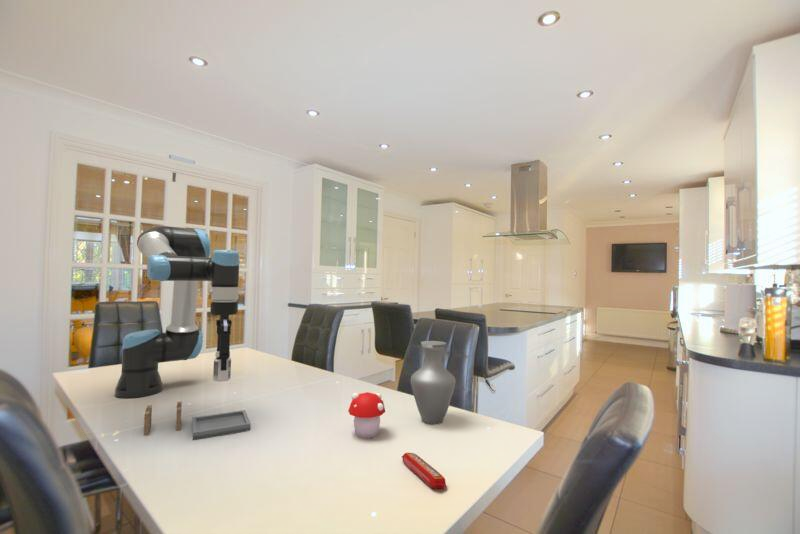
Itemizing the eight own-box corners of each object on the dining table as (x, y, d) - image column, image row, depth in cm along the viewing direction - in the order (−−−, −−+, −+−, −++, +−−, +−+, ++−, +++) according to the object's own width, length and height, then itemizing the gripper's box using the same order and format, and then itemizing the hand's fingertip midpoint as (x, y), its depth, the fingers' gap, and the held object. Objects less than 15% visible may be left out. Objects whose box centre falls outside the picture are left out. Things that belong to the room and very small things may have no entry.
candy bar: (449, 491, 82) (449, 476, 82) (434, 495, 81) (435, 480, 81) (412, 459, 96) (412, 447, 97) (399, 462, 95) (399, 450, 95)
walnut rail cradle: (146, 425, 114) (147, 405, 114) (181, 420, 119) (181, 401, 119) (143, 435, 107) (144, 414, 107) (180, 429, 112) (181, 409, 112)
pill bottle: (223, 382, 112) (224, 353, 112) (209, 381, 113) (210, 352, 113) (233, 378, 116) (234, 350, 117) (220, 377, 117) (221, 349, 118)
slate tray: (192, 424, 116) (192, 417, 116) (244, 416, 123) (245, 409, 123) (192, 440, 105) (192, 432, 105) (250, 430, 112) (250, 423, 112)
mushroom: (390, 429, 114) (391, 389, 115) (376, 444, 104) (377, 400, 105) (358, 424, 118) (359, 385, 118) (341, 438, 108) (342, 395, 108)
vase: (460, 417, 126) (461, 341, 126) (447, 433, 113) (448, 348, 113) (419, 410, 132) (421, 337, 133) (402, 424, 119) (404, 343, 120)
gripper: (209, 299, 121) (206, 373, 120) (212, 303, 106) (209, 388, 105) (234, 299, 125) (232, 371, 124) (241, 302, 109) (239, 384, 109)
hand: (222, 378), depth 114 cm, fingers closed on pill bottle, 5 cm apart
